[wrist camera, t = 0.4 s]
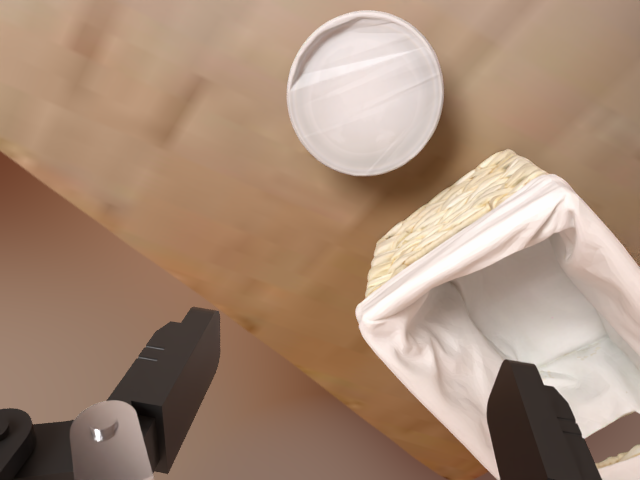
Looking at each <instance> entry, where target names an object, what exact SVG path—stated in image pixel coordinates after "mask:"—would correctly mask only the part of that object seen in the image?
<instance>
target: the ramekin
mask: <svg viewBox="0 0 640 480" xmlns="http://www.w3.org/2000/svg"><path fill="white" fill-rule="evenodd" d="M443 101H444V83H443V76H442V71H441V67H440V64H439V61H438V58H437V55H436V53H435V51H434V50H433V48H432V46H431V45H430V43H429V42H428V41H427V39H426V38H425V37H424V36H423V35H422V34H421V33H420V32H419V31H418V30H417V29H416V28H415V27H414V26H412V25H411V24H410V23H408V22H407V21H405V20H403V19H401V18H399V17H397V16H394V15H392V14H389V13H385V12H380V11H368V10H364V11H356V12H350V13H347V14H344V15H341V16H338V17H336V18H334V19H332V20H330V21H328V22H326V23H325V24H323V25H322V26H320V27H319V28H318V29H317V30H316V31H314V32H313V33H312V34H311V36H310V37H309V38H308V39H307V40H306V41H305V43H304V44H303V45H302V47H301V48H300V50H299V51H298V53H297V55H296V57H295V59H294V62H293V64H292V67H291V70H290V74H289V78H288V84H287V105H288V112H289V116H290V120H291V123H292V126H293V128H294V130H295V133H296V134H297V136H298V138H299V140H300V141H301V143H302V144H303V145H304V147H305V148H306V149H307V150H308V151H309V152H310V153H311V154H312V155H313V156H314V157H315V158H316V159H317V160H318V161H320V162H321V163H322V164H324V165H326V166H327V167H329V168H331V169H333V170H335V171H338V172H340V173H344V174H348V175H352V176H375V175H380V174H385V173H388V172H390V171H393V170H395V169H397V168H399V167H401V166H403V165H405V164H406V163H408V162H409V161H410V160H411V159H413V158H414V157H415V156H416V155H417V154H418V153H419V152H420V151H421V150H422V149H423V148H424V147H425V145H426V144H427V143H428V141H429V140H430V138H431V137H432V135H433V133H434V131H435V129H436V127H437V125H438V122H439V119H440V116H441V112H442V108H443Z"/></svg>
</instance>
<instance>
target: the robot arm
mask: <svg viewBox="0 0 640 480" xmlns="http://www.w3.org/2000/svg"><path fill="white" fill-rule="evenodd" d="M219 358H220V314H219V311H215V310H209V309H203V308H197V307H192V308H191V309H190V310H189V312H188V313H187V315H186V316H185V318H184V319H183V321H182V323H177V322H169V323H168V324H166V325H165V326H163V327H162V328H160V329H159V330H157V331H156V332H155V333H154V335H153V336H152V338H151V339H150V340H149V342H148V343H147V345H146V348H144V349H143V350H142V352H141V353H140V355H139V357H138V359H136V360H135V362H134V363H133V364H132V366H131V367H130V369H129V370H128V371H127V373H126V374H125V376H124V377H123V379H122V380H121V381H120V383H119V384H118V385H117V387H116V388H115V390H114V391H113V393H112V394H111V395H110V397H109V398H108V399H107V401H104V402H100V403H97V404H94V405H92V406H90V407H88V408H87V409H85V410H84V411H83V412H81V413H80V414H79V415H78V416H77V417H76V419H75V420H71V421H65V422H54V423H44V424H34V425H33V424H32V421H31V418H30V416H29V415H28V414H27V413H26V412H24V411H22V410H19V409H11V408H9V409H0V480H154V477H153V473H154V471H156V472H161V473H166V474H168V473H169V471H170V468H171V467H172V464H173V462H174V460H175V458H176V456H177V454H178V452H179V450H180V447H181V445H182V443H183V441H184V439H185V437H186V435H187V432H188V430H189V428H190V426H191V424H192V422H193V420H194V418H195V416H196V413H197V411H198V409H199V407H200V405H201V403H202V400H203V399H204V396H205V394H206V392H207V390H208V388H209V386H210V384H211V381H212V379H213V377H214V375H215V373H216V370H217V367H218V363H219ZM486 415H487V424H488V428H489V433H490V437H491V441H492V446H493V450H494V454H495V459H496V463H497V467H498V472H499V476H500V480H602V478H601V476H600V474H599V471H598V469H597V467H596V465H595V462H594V460H593V458H592V456H591V453H590V451H589V449H588V447H587V444H586V442H585V440H584V438H582V433H581V431H580V428H579V426H578V424H577V423H576V419H575V417H574V415H573V413H572V410H571V408H570V406H569V403H568V402H567V401H566V400H565V399H564V398H563V396H562V395H561V394H560V393H559V392H558V391H557V390H556V389H555V388H554V387H553V386H547V385H544V384H543V381H542V379H541V376H540V374H539V371H538V369H537V367H536V365H535V364H532V363H526V362H520V361H514V360H508V359H505V360H504V361H503V362H502V364H501V366H500V369H499V372H498V374H497V377H496V380H495V382H494V385H493V388H492V390H491V393H490V396H489V399H488V403H487V412H486Z"/></svg>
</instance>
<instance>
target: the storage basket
mask: <svg viewBox="0 0 640 480" xmlns="http://www.w3.org/2000/svg"><path fill="white" fill-rule="evenodd" d="M371 267H372V268H371V269H370V271H369V273H368V283H367V291H366V293H365V295H366V298H365V300H363V301H362V302H361V303H359V304H358V306H357V307H356V318H357V321H358V322H359V329H360V331H361V334H362V336H363V338H364V339H365V341H366V342H367V343H368V345H369V346H370V347H371V348H372V350H373V351H374V352H375V353H376V354H377V355H378V357H379V358H380V359H381V360H382V361H383V362H384V363H385V364H386V366H387V367H388V368H389V369H390V370H391V371H392V372H393V373H394V374H395V375H396V377H397V378H398V379H399V380H400V381H401V382H402V383H403V384H404V385H405V386H406V387H407V389H408V390H409V391H410V392H411V393H412V394H413V395H414V396H415V397H416V398H417V399H418V400H419V401H420V402H421V403H422V404H423V405H424V406H425V407H426V408H427V409H428V410H429V411H430V412H431V413H432V414H433V415H434V416H435V417H436V418H437V419H438V420H439V421H440V422H441V423H442V424H443V425H444V426H445V427H446V428H447V429H448V430H449V431H450V432H451V433H452V434H453V435H454V436H455V437H456V438H457V439H458V440H459V441H460V442H461V443H462V444H463V445H464V446H465V447H466V448H467V449H468V450H469V451H470V452H471V453H472V454H473V455H474V457H475V458H476V459H477V460H478V461H479V462H480V463H481V464H482V465H483V466H484V467H485V468H486V469H487V470H488V471H489V472H490V473H491V474H492V475H493V476H494V477H495V478H496V479H497V480H500V476H499V472H498V467H497V463H496V459H495V454H494V450H493V446H492V441H491V437H490V433H489V428H488V424H487V415H486V412H487V403H488V399H489V396H490V393H491V390H492V388H493V385H494V382H495V380H496V377H497V374H498V372H499V369H500V366H501V364H502V362H503V361H504V360H505V359H508V360H514V361H520V362H526V363H532V364H535V365H536V367H537V369H538V371H539V374H540V376H541V379H542V381H543V384H544V385H547V386H553V387H554V388H555V389H556V390H557V391H558V392H559V393H560V394H561V395H562V396H563V398H564V399H565V400H566V401H567V402H568V403H569V406H570V408H571V410H572V413H573V415H574V417H575V419H576V423H577V424H578V426H579V428H580V431H581V433H582V438H584V439H585V438H587V437H588V436H590V435H591V434H593V433H595V432H596V431H598V430H600V429H602V428H604V427H606V426H607V425H609V424H610V423H612V422H614V421H616V420H617V419H619V418H620V417H623V416H626V415H630V414H632V413H634V412H637V413H640V267H639V266H638V265H637V263H636V262H635V261H634V259H633V258H632V257H631V256H630V254H629V253H628V252H627V250H626V249H625V248H624V246H623V245H622V244H621V243H620V242H619V240H618V239H617V238H616V237H615V236H614V234H613V233H612V232H611V231H610V230H609V229H608V227H607V226H606V225H605V224H604V223H603V222H602V221H601V220H600V219H599V217H598V216H597V215H596V214H595V213H594V212H593V211H592V210H591V208H590V207H589V206H588V205H587V204H586V203H585V202H584V201H583V199H581V198H580V197H579V196H578V195H577V194H576V193H575V191H574V190H573V189H572V188H571V186H570V185H569V184H568V183H567V182H566V181H565V180H564V179H562V178H561V177H558V176H557V175H554V174H548V173H547V172H546V171H543V170H541V169H540V168H539V167H537V166H536V165H535V164H533V163H532V162H531V161H530V160H529V159H526V158H524V157H521V156H519V155H517V154H516V153H515V152H514V151H513V150H510V149H507V150H505V151H500V152H497V153H496V154H494V155H492V156H491V157H489V158H488V159H486V160H485V161H483V162H482V163H481V164H480V165H478V166H477V168H476V169H475V170H472V171H470V172H469V173H467V174H466V175H464V176H463V177H462V178H461V179H459V180H458V181H457V182H456V183H454V184H453V185H452V186H451V187H448V188H446V189H445V190H443V191H442V192H441V193H439V194H438V195H436V196H435V197H434V198H433V199H432V200H431V201H429V202H428V203H427V204H425V205H423V206H422V207H420V208H419V209H418V210H416V211H415V212H414V213H413V214H411V215H410V216H409V217H408V218H407V219H406V220H404V221H401V222H399V223H398V224H397V225H395V226H394V227H393V228H392V229H391V230H390V231H389V232H388V233H387V234H386V235H385V236H383V237H382V238H381V239H380V240H379V241H378V242H377V244H376V249H375V251H374V259H373V260H372V262H371ZM595 465H596V467H597V469H598V471H599V474H600V476H601V478H602V480H640V444H639V445H636V446H634V447H633V448H632V449H631V450H630V451H629V452H625V453H619V454H618V456H616V457H608V458H607V459H606V460H604V461H602V462H600V463H595Z"/></svg>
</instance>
